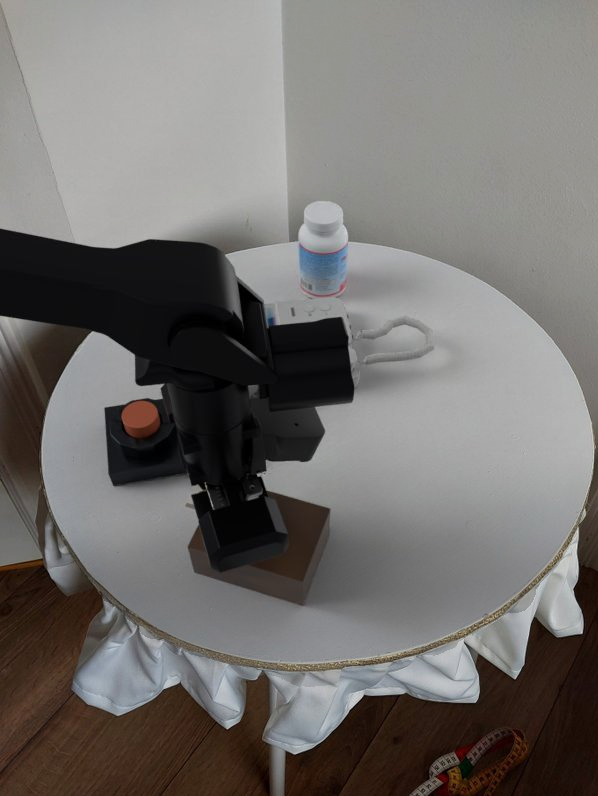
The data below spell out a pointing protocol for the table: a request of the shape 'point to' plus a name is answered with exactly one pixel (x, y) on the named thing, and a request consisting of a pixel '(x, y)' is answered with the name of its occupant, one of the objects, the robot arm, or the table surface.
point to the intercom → (335, 308)
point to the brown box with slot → (285, 571)
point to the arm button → (141, 419)
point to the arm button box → (141, 448)
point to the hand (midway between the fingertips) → (229, 515)
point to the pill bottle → (322, 251)
